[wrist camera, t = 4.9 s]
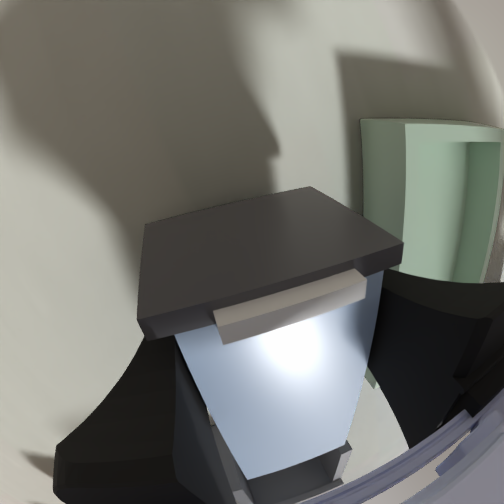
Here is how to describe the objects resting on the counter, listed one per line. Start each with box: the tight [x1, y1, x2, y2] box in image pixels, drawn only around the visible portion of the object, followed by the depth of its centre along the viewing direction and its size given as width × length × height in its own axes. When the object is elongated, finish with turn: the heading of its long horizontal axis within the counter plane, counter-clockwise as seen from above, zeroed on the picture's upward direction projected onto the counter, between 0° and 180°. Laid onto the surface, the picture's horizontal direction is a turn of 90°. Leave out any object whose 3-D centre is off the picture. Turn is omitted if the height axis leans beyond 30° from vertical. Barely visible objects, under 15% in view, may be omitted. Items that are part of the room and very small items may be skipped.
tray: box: [360, 118, 504, 389], centre depth 15 cm, size 10×16×3 cm, turn 8°
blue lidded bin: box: [137, 186, 404, 480], centre depth 11 cm, size 6×11×6 cm, turn 8°
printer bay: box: [211, 425, 352, 504], centre depth 18 cm, size 8×8×6 cm
